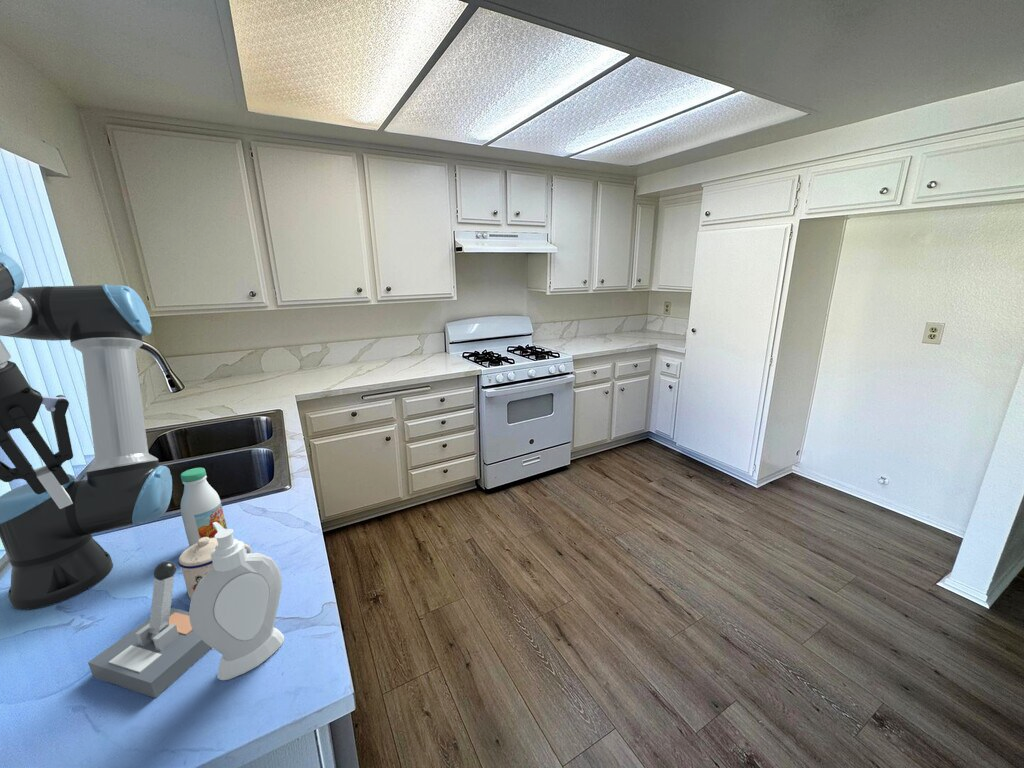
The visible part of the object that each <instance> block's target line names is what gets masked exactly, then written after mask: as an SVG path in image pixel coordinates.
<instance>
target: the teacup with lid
mask: <svg viewBox="0 0 1024 768" xmlns="http://www.w3.org/2000/svg"><path fill="white" fill-rule="evenodd" d="M216 545H218V542H217V539H216V538H210V539H209V538H208V537H203V538H201V539H199V540H198V542H197V543H196V544H194V545H192V546H190V547H189V546H188V547H187V548H185V550H184V551H182V553H181V554H180V556H179V558H178V561H177V562H178V566H179V567H180V568H181V571H182V575H183V579H184V580H183V581H184V583H185V587H186V590H187V594H188V597H189V599H190V600H191V597H192V595H193V593H194V591H195V589H196V587H197V585H198V583H199V581H200V580H201V579H202V578H203V577H204V576H205V575H206V574H207V573H208V572H209V571H210V570H211V569H212V568H213V567H214V566H213V562H212V558H211V553H212V551H213V550H214V549H215V547H216ZM244 546H245V550H246V554H247V553H252V549H251V546H250V545H249V544H247V543H244Z"/></svg>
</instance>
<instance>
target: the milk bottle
mask: <svg viewBox="0 0 1024 768" xmlns="http://www.w3.org/2000/svg"><path fill="white" fill-rule="evenodd" d="M207 478H208V476H207V472H206V469H205V468H204V467H194V468H191V469H186V470H185V471H183V472H181V473H180V479H181V482H182V484H183V485H184V487H183V494H182V497H181V500H180V513H181V518H182V523H183V526H184V530H185V535H186V539H187V542H188V548H189V547H190V546H192V545H194V544H196V543H197V542H198V540H199V539H201V538H203V537H208V538H209V539H210V538H215V534H216V533H217V530H216V528H215V527H214V526H213V523H214V522H217V523H219V524H220V525H221V526H222V527H223V528H224V529H228V526H227V522H226V521H227V520H226V518H225V513H224V509H223V506H222V501H221V498H220V495H219V494H218V492H217V491H216V490H215V489H214V487H212V486H211V484H209V482H208V481H207Z"/></svg>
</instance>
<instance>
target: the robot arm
mask: <svg viewBox="0 0 1024 768" xmlns="http://www.w3.org/2000/svg"><path fill="white" fill-rule="evenodd" d="M24 283H25V273H24V271H23V269H22V267H21V266H20V265H19V263H18V262H16V260H15V259H14V258H12V257H11V256H10V255H8V254H6V253H4V252H2V251H0V337H1V336H2V337H9V338H16V339H17V338H18V339H25V340H27V339H28V340H35V341H55V342H56V341H70V346H71V347H72V348H74V349H75V350H77V351H79V352H80V353H81V355H82V356H81V358H82V364H83V372H84V381H85V388H86V396H87V404H88V411H89V412H88V413H89V421H90V428H91V429H90V430H91V436H92V446H93V452H94V460H95V461H94V463H93V464H92V465H91V466H89V467H88V469H86V471H85V473H86V479H83V480H82V479H81V480H76V479H75V477H74V476H73V475H71V474H69V473H67V472H66V471H65V470H64V468H63V466H62V465H63V464H64V463H65V462H66V461H70V460H72V459H73V458H74V452H73V448H72V442H71V436H70V432H69V427H68V426H69V425H68V421H67V416H66V415H67V411H68V408H69V405H70V402H69V400H68V398H67V397H66V396H65V395H63V394H59V395H56V396H52V395H51V396H50V395H42V394H41V392H40V391H38V390H36V389H34V388H33V387H31V386H30V384H29V382H28V381H27V379H26V377H25V375H24V374H23V373H22V371H21V370H20V368H19V367H18V365H17V364H16V363H15V362H14V361H12V360H11V361H10V359H11V358H12V357H11V354H10V352H9V351H8V349H7V348H6V346H5V344H4V342H3V341H2V339H0V448H1V449H2V451H3V452H4V454H5V455H6V456H7V457H8V459H9V461H10V462H11V463H12V464H13V466H14V467H13V468H11V467H10V466H8V465H7V464H6V463H4V462H3V461H2V460H0V481H2V482H4V483H9V482H10V483H11V482H13V481H14V480H24V481H26V483H25V484H23V485H20V486H18V487H15V488H14V489H10V490H9V491H7V492H5V493H4V494H2V495H0V541H1V543H2V547H3V549H4V551H5V553H6V556H7V558H8V560H9V562H10V566H11V574H10V587H9V589H8V593H7V596H8V600H9V602H10V605H11V606H12V608H14V609H17V610H21V611H22V610H25V611H26V610H35V609H39V608H44V607H47V606H52V605H55V604H57V603H61V602H63V601H66V600H68V599H70V598H72V597H75V596H78V595H79V594H81V593H83V592H86V590H89V589H91V588H93V587H94V586H95V585H97V584H99V583H100V582H101V581H102V580H103V579H104V578H106V577H107V576H108V575H109V574H110V573H111V572H112V570H113V567H114V562H113V559H112V557H111V555H110V553H109V552H107V551H106V550H105V549H104V548H103V547H102V545H100V544H99V543H98V541H96V540H95V539H94V538H93V536H92V535H93V534H96V533H102V532H106V531H111V530H115V529H119V528H126V527H129V526H138V525H141V524H142V523H146V522H151V521H155V520H157V519H159V518H161V517H162V516H163V515H164V514H165V513H166V512H167V511H168V508H169V506H170V502H171V499H172V494H173V493H172V491H173V478H172V477H173V476H172V474H171V471H170V470H171V469H170V468H169V467H168V466H166V465H160V463H159V458H157V457H156V456H154V455H152V454H151V453H149V446H148V439H147V432H146V431H147V430H146V424H145V418H144V409H143V401H142V396H141V395H142V394H141V386H140V379H139V378H140V377H139V371H138V370H139V369H138V362H137V354H136V352H137V350H138V349H140V348H141V347H142V346H143V344H144V340H143V337H147V336H148V335H150V334H151V333H152V329H153V326H152V321H151V318H150V315H149V312H148V310H147V307H146V305H145V303H144V301H143V300H142V297H141V296H140V295H139V294H138V293H137V291H135V289H133V288H131V287H130V286H127V285H123V284H118V285H116V284H106V283H104V284H99V285H98V284H97V285H95V284H93V285H59V286H58V285H56V286H50V285H48V286H43V285H42V286H29V287H26V286H25V287H23V286H24ZM41 405H44V408H45V410H46V411H48V412H50V415H51V421H52V425H53V430H54V435H55V439H56V445H57V449H58V451H57V452H55V453H53V451H52V449H51V448H50V447H49V444H47V442H46V440H45V439H44V438H43V436H42V435H41V433H40V432H39V430H38V429H37V427H36V426H35V424H34V421H35V420H36V417H37V416H38V413H39V410H40V408H41ZM17 429H20V431H21V432H22V434H23V435H24V436H25V437H26V439H27V441H28V442H29V443H30V444H31V446H32V448H33V449H34V451H35V452H36V454H38V456H39V457H40V459H41V460H42V462H43V463H44V464H45V465H43V466H41V467H40V466H39V467H37V468H33V465H32V464H31V463H30V461H29V460H28V459H27V457H26V456H25V454H24V452H23V451H22V450H21V449H20V447H19V446H18V444H17V443H16V441H15V440H14V438H13V437H12V436H11V434H10V433H9V432H10V431H13V430H17ZM75 480H76V481H75Z"/></svg>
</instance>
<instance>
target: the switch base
mask: <svg viewBox="0 0 1024 768" xmlns="http://www.w3.org/2000/svg"><path fill="white" fill-rule="evenodd" d="M149 625H150V617H149V618H148V619H146V620H145V621H144V622H141V624H140V625H138V626H137V627H135V628H134V629H132V630H131V631H129V632H128V633H127V634H126V635H124V636H123V637H122V638H120V639H118V640H117V641H116V642H114V643H113V644H111V645H110V646H109V647H107V648H106V649H104V650H103V651H102V652H100V653H99V654H98V655H96V656H95V657H93V658H92V659H90V660H89V661H87V665H88V667H89V669H90V672H91V674H92V677H93V678H95V679H97V680H101V681H104V682H107V683H109V682H110V683H109V684H112V683H113V685H115V684H116V685H115V686H118V685H119V687H122V688H125V689H127V688H128V689H127V690H131V691H134V692H137V693H140V694H143V695H144V696H148V697H152V698H154V699H157V697H159V696H160V695H161V694H162V693H163V692H165V691H166V690H167V689H168V688H169V687H170V686H171V685H172V684H174V682H175V681H176V680H178V679H179V678H180V677H181V676H182V675H183V674H185V672H187V671H188V670H189V669H190V668H192V666H193V665H194V664H196V663H197V662H198V661H199V660H200V659H201V658H202V657H203V656H204V655H206V654H207V653H208V652H209V651H210V650H211V649H213V648H212V647H210V646H209V645H207V644H206V643H205V642H204V641H203V640H202V639H201V638H199V637H198V636H197V635H196V633H195V632H194V631H193V629H192V627H191V624H190V617H189V611H187V610H183V609H178V608H175V607H171V608H170V617H169V626H168V627H167V628H166V629H164V630H163V631H162V632H160V633H159V634H158V635H156V636H155V637H154V638H153V641H154V642H153V641H149V640H147V635H148V633H149Z"/></svg>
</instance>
